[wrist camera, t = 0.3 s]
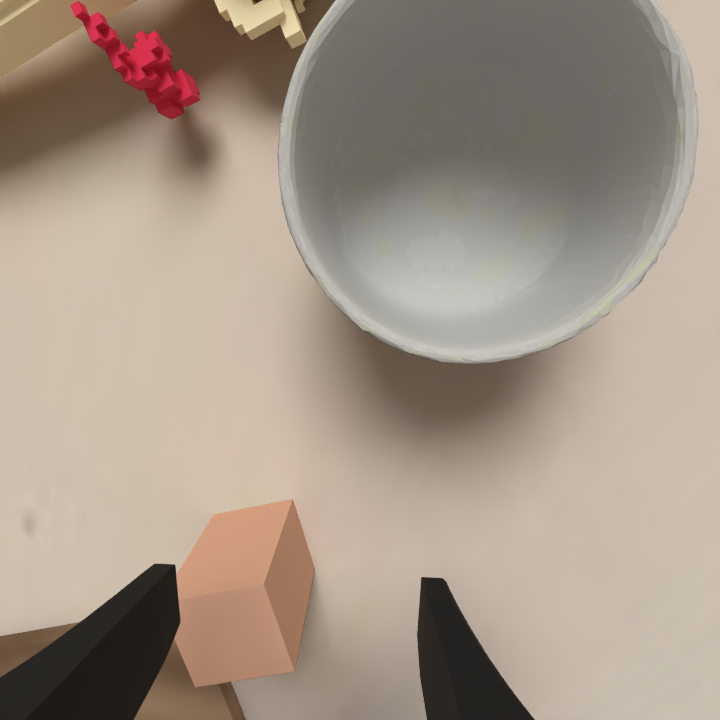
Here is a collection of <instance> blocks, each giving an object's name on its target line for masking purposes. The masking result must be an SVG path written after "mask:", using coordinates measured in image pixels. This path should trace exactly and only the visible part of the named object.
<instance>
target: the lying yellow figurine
mask: <svg viewBox="0 0 720 720" xmlns="http://www.w3.org/2000/svg"><path fill="white" fill-rule="evenodd" d="M135 1H137V0H0V77H2V76H4V75H5V74H7V73H8V72H10V71H12V70H13V69H15V68H16V67H18V66H20V65H21V64H23V63H24V62H26V61H28V60H29V59H31V58H32V57H34V56H36V55H37V54H39V53H40V52H42V51H44V50H45V49H47V48H48V47H50V46H52V45H53V44H55V43H56V42H58V41H60V40H61V39H63V38H65V37H66V36H68V35H69V34H71V33H73V32H74V31H76V30H77V29H79V28H81V27H82V26H85V28H86V30H87V32H88V34H89V36H90V38H91V41H92V42H93V43H95V44H96V45H98V46H100V47H101V48H103V49H104V50H106V52H107V54H108V57H109V59H110V61H111V63H112V65H113V67H114V69H115V70H116V71H118V72H120V73H121V75H122V77H123V79H124V81H125V83H127V84H129V85H131V86H133V87H135V88H137V89H138V90H140V91H142V90H145V92H146V94H147V96H148V99H149V101H150V102H151V103H153V104H154V105H155V106H156V108H157V110H158V113H160V114H162V115H164V116H166V117H168V118H170V119H174V118H175V117H177V116H179V115H181V114H183V113H184V110H183V108H184V107H185V106H186V107H188V106H190V105H192V104H193V103H195V102H197V101H199V100H200V98H199V96H198V95H200V92H199V90H198V87H197V85H196V83H195V81H194V78H193V77H191V76H190V75H189V74H187V73H186V72H185V71H183V70H182V69H180V70H178V71H177V72H175V73H174V71H173V69H172V67H171V64H170V63H172V61H171V59H170V58H171V57H173V56H172V54H171V52H170V49H169V47H167V46H166V45H165V44H164V43H163V41H162V38H161V36H160V34H158V33H157V32H156V31H153V32H152V33H150V34H148V35H147V34H146V33H144V32H143V31H141V32H139V33H138V34H136V35H135V37H136V39H137V42H135V43H133V44H134V46H135V48H133V49H131V50H129V49H128V48H127V46H126V45H125V44H124V43H122V42H121V41H120V40H119V37H118V35H117V33H116V31H115V30H113V29H112V28H110V27H109V25H108V23H107V21H106V19H107V18H109V17H111V16H112V15H114V14H116V13H117V12H119V11H120V10H122V9H124V8H125V7H127V6H128V5H130V4H132V3H133V2H135ZM214 1H215V3H216V6H217V8H218V11H219V13H220V14H221V16H222V17H223V18H224V19H225V20H226V21H229V20H232V23H233V25H234V28H235V29H236V30H237V31H238V32H239V34H240V35H243V34H245V33H246V34H247V35H248V36H249V37H250V39H251V40H253V39H255V38H257V37H259V36H261V35H262V34H264V33H266V32H268V31H270V30H271V29H273V28H275V27H277V26H279V25H281V28H282V30H283V33H284V36H285V38H286V40H287V41H288V43H289V45H290V46H291V48H292V49H294V48H295V47H297V46H299V45H301V44H303V43H305V42H307V41H306V38H305V35H304V33H303V30H302V26H301V23H300V20H299V18H298V15H297V12H296V10H295V8H294V6H293V3H292V0H262V1H260V2H258V3H257V4H255V3H254V2H253V0H214ZM303 1H305V0H295V1H294V4H295V6H296V9H297V11H298V13H299V14H300V13H301V12H303V11H305V10H306V9H305V7H304V4H303Z"/></svg>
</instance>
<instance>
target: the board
mask: <svg viewBox="0 0 720 720" xmlns="http://www.w3.org/2000/svg"><path fill="white" fill-rule="evenodd" d="M77 624H78V623H74V624H69V625H63V626H57V627H52V628H46V629H40V630H35V631H29V632H23V633H18V634H12V635H6V636H1V637H0V677H1V676H3V675H5V674H6V673H8V672H9V671H11V670H12V669H14V668H15V667H17V666H19V665H20V664H22V663H23V662H25V661H26V660H28V659H29V658H31V657H32V656H34V655H35V654H37V653H38V652H40V651H41V650H43V649H44V648H45V647H47V646H48V645H50V644H51V643H52V642H54V641H55V640H56V639H58V638H59V637H61V636H62V635H63V634H65V633H66V632H67V631H69V630H70V629H72V628H73V627H74V626H76V625H77ZM134 720H245V718H244V715H243V713H242V710H241V708H240V705H239V703H238V700H237V698H236V695H235V693H234V690H233V688H232V685H231V683H230V682H226V683H220V684H213V685H207V686H201V687H195V686H194V683H193V681H192V679H191V677H190V674H189V672H188V670H187V667H186V665H185V663H184V660H183V658H182V656H181V653H180V651H179V649H178V646H177V644H176V642H175V639H174V640H173V643H172V645H171V648H170V650H169V653H168V655H167V657H166V660H165V662H164V664H163V666H162V668H161V670H160V671H159V673H158V675H157V677H156V679H155V681H154V683H153V685H152V687H151V688H150V690H149V692H148V694H147V696H146V698H145V700H144V702H143V703H142V705H141V707H140V709H139V711H138V713H137V715H136V716H135V718H134Z"/></svg>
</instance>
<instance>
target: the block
mask: <svg viewBox="0 0 720 720" xmlns="http://www.w3.org/2000/svg"><path fill="white" fill-rule="evenodd" d="M314 570H315V568H314V565H313V562H312V559H311V556H310V553H309V549H308V546H307V543H306V540H305V537H304V534H303V530H302V527H301V524H300V521H299V518H298V515H297V511H296V508H295V505H294V502H293V499H291V500H286V501H281V502H276V503H271V504H266V505H261V506H256V507H251V508H245V509H240V510H235V511H230V512H225V513H220V514H215V515H213V517H212V518H211V520H210V522H209V523H208V525H207V526H206V528H205V530H204V531H203V533H202V535H201V536H200V538H199V539H198V541H197V543H196V544H195V546H194V547H193V549H192V551H191V552H190V554H189V556H188V557H187V559H186V560H185V562H184V564H183V565H182V567H181V568H180V570H179V572H178V573H177V575H176V579H177V589H178V599H179V610H180V620H181V622H180V625H179V628H178V630H177V633H176V635H175V638H174V639H175V642H176V644H177V646H178V649H179V651H180V653H181V656H182V658H183V660H184V663H185V665H186V667H187V670H188V672H189V674H190V677H191V679H192V681H193V683H194V686H195V687H201V686H207V685H213V684H220V683H226V682H232V681H239V680H245V679H251V678H258V677H264V676H270V675H277V674H283V673H289V672H295V667H296V662H297V657H298V652H299V647H300V641H301V636H302V631H303V626H304V621H305V616H306V611H307V606H308V600H309V595H310V590H311V585H312V580H313V575H314Z"/></svg>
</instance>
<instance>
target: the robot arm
mask: <svg viewBox="0 0 720 720" xmlns="http://www.w3.org/2000/svg"><path fill="white" fill-rule="evenodd" d="M180 622H181V620H180V610H179V599H178V589H177V579H176V568H175V565H171V564H154V565H152V566H151V567H150V568H148V569H147V570H146V571H145V572H143V573H142V574H141V575H140V576H138V577H137V578H136V579H135V580H133V581H132V582H131V583H130V584H128V585H127V586H126V587H125V588H123V589H122V590H121V591H120V592H118V593H117V594H116V595H115V596H113V597H112V598H111V599H110V600H108V601H107V602H106V603H104V604H103V605H102V606H101V607H99V608H98V609H97V610H95V611H94V612H93V613H92V614H90V615H89V616H88V617H86V618H85V619H84V620H82V621H81V622H80V623H78V624H77V625H76V626H74V627H73V628H72V629H70V630H69V631H67V632H66V633H65V634H63V635H62V636H61V637H59V638H58V639H56V640H55V641H54V642H52V643H51V644H50V645H48V646H47V647H45V648H44V649H43V650H41V651H40V652H38V653H37V654H35V655H34V656H32V657H31V658H29V659H28V660H26V661H25V662H23V663H22V664H20V665H19V666H17V667H15V668H14V669H12V670H11V671H9V672H8V673H6V674H5V675H3V676H1V677H0V720H134V718H135V716H136V715H137V713H138V711H139V709H140V707H141V705H142V703H143V702H144V700H145V698H146V696H147V694H148V692H149V690H150V688H151V687H152V685H153V683H154V681H155V679H156V677H157V675H158V673H159V671H160V670H161V668H162V666H163V664H164V662H165V660H166V657H167V655H168V653H169V650H170V648H171V645H172V643H173V640H174V638H175V635H176V633H177V630H178V628H179V625H180ZM417 638H418V653H419V667H420V678H421V685H422V691H423V697H424V703H425V709H426V716H427V720H535V719H534V718H533V717H532V716H531V715H530V713H529V712H528V711H527V710H526V708H525V707H524V706H523V704H522V703H521V702H520V701H519V699H518V698H517V697H516V695H515V694H514V693H513V691H512V690H511V689H510V687H509V686H508V685H507V683H506V682H505V680H504V679H503V678H502V676H501V675H500V673H499V672H498V670H497V669H496V667H495V666H494V665H493V663H492V662H491V660H490V659H489V657H488V656H487V654H486V652H485V651H484V649H483V648H482V646H481V645H480V643H479V641H478V640H477V638H476V636H475V635H474V633H473V631H472V630H471V628H470V626H469V625H468V623H467V621H466V620H465V618H464V616H463V614H462V612H461V611H460V609H459V607H458V605H457V603H456V601H455V599H454V597H453V595H452V593H451V591H450V589H449V587H448V585H447V582H446V581H445V580H444V579H443V578H426V577H421V591H420V605H419V619H418V633H417Z"/></svg>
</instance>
